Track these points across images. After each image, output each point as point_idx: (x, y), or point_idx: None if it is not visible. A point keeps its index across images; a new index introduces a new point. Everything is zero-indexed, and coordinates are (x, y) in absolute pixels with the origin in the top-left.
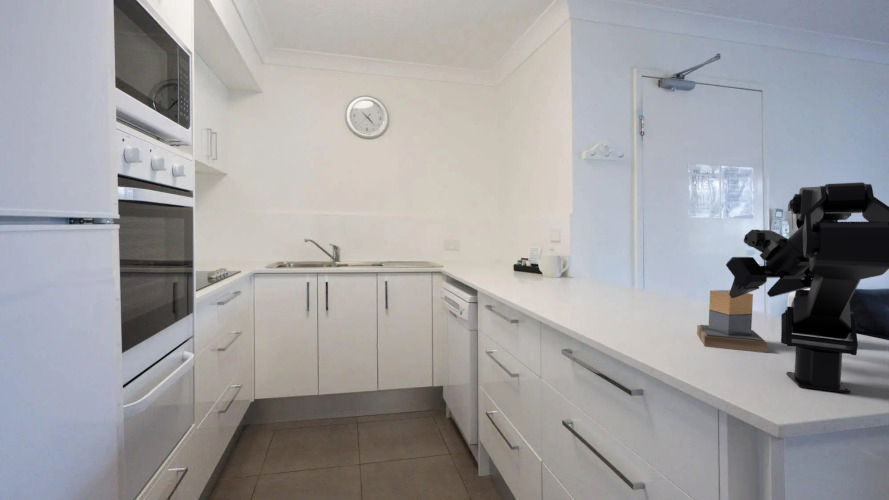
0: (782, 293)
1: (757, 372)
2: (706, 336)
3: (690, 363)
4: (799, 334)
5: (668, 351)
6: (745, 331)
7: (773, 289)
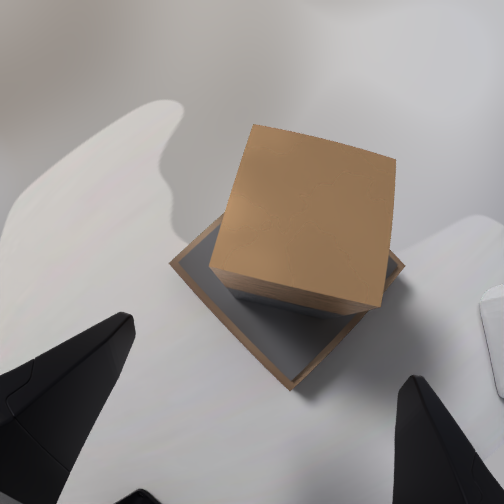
0: (394, 472)
1: (102, 449)
2: (171, 266)
3: (34, 344)
4: (491, 326)
5: (61, 264)
6: (304, 313)
7: (417, 423)
